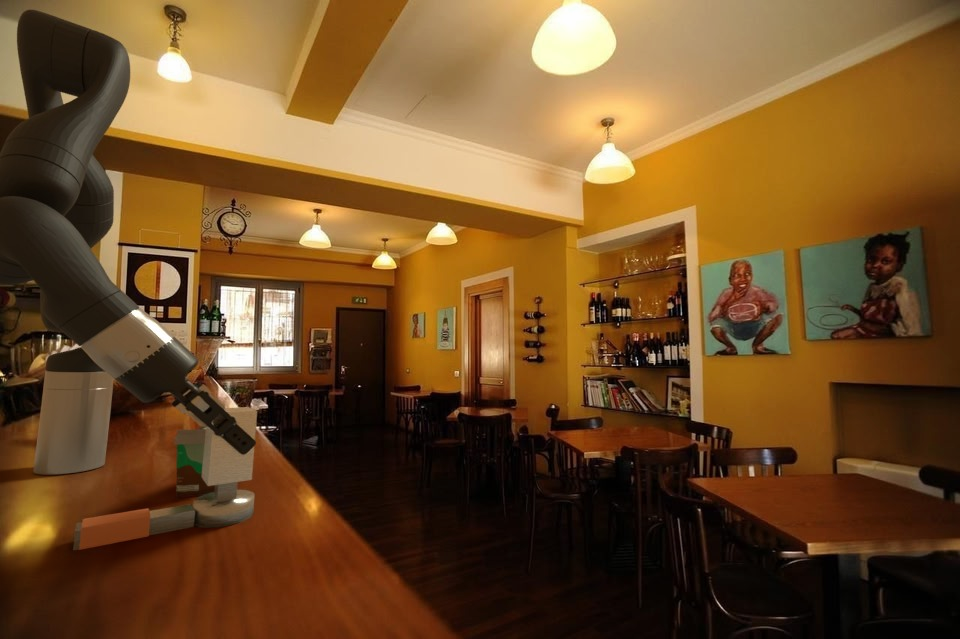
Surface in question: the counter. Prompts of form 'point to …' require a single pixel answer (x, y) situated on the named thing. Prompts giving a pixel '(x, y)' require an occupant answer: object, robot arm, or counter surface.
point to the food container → (191, 463)
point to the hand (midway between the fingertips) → (244, 444)
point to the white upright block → (228, 451)
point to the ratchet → (168, 518)
